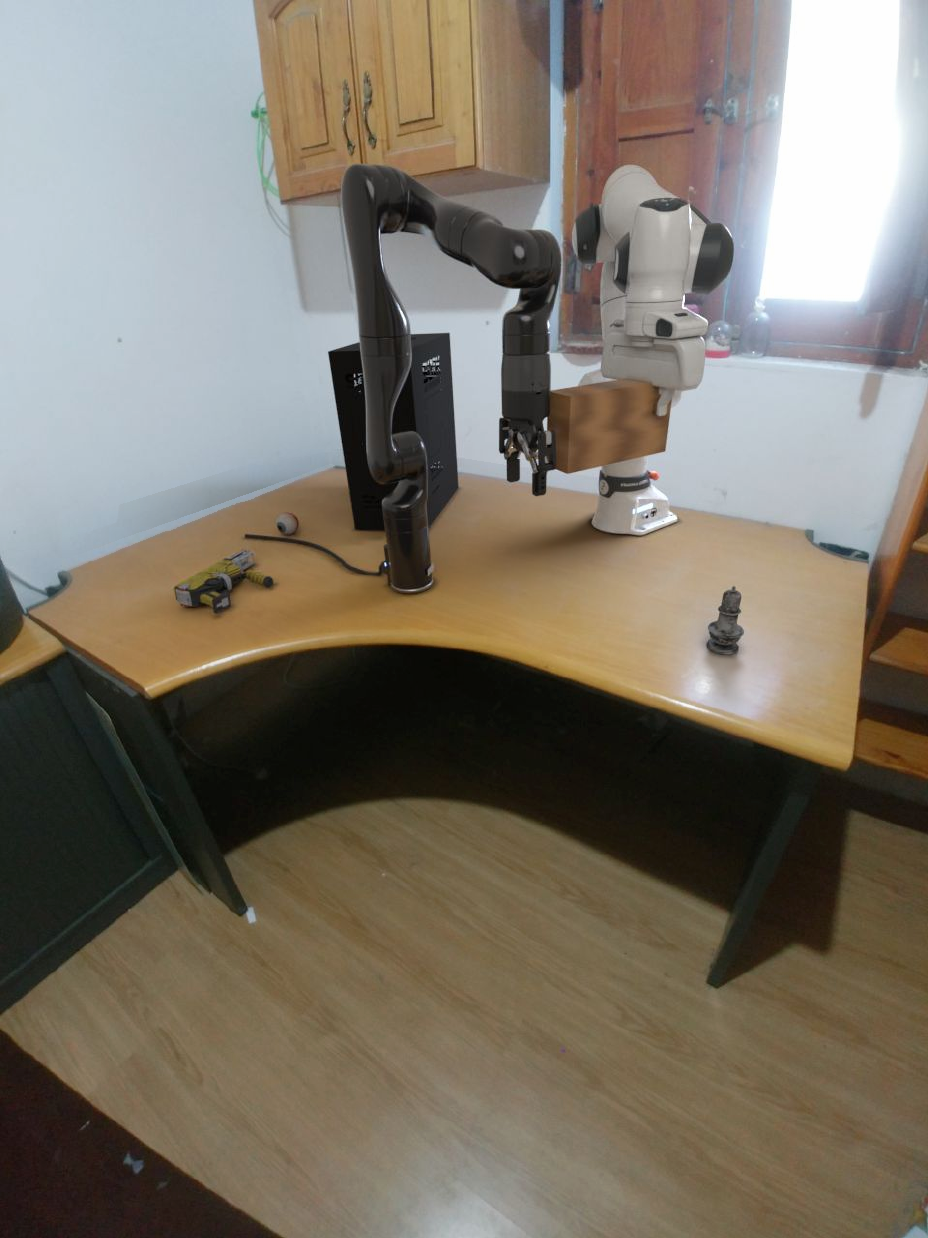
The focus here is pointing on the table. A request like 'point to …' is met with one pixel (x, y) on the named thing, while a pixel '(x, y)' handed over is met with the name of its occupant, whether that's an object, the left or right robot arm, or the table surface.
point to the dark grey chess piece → (726, 625)
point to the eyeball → (287, 523)
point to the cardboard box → (399, 425)
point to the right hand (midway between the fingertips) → (643, 411)
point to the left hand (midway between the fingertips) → (525, 487)
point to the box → (606, 424)
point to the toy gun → (218, 582)
